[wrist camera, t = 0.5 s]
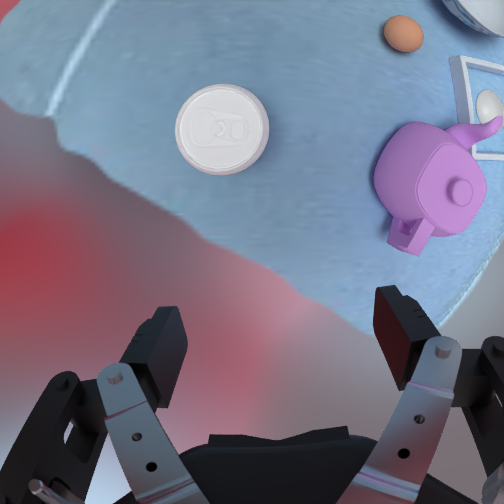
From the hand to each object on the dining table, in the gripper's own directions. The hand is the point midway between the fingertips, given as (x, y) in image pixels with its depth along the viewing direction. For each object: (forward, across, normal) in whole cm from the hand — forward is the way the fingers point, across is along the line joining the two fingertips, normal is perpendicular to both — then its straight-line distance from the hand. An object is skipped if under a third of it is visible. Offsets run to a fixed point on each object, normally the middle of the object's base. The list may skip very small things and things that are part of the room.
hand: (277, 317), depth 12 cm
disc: (+27, -34, -10) cm, 44 cm away
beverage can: (+27, +3, -8) cm, 28 cm away
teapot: (+27, -20, -1) cm, 33 cm away
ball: (+27, -18, -19) cm, 38 cm away
